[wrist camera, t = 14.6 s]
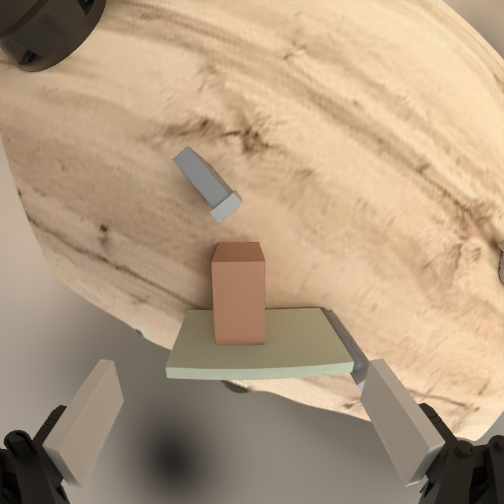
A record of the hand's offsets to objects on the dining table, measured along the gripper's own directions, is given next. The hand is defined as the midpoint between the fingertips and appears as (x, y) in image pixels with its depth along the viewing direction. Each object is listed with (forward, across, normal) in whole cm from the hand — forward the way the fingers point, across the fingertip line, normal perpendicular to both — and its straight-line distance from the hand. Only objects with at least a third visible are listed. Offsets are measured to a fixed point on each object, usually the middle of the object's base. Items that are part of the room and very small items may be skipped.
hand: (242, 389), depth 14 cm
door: (+17, +2, -4) cm, 18 cm away
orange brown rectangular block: (+18, 0, 0) cm, 18 cm away
